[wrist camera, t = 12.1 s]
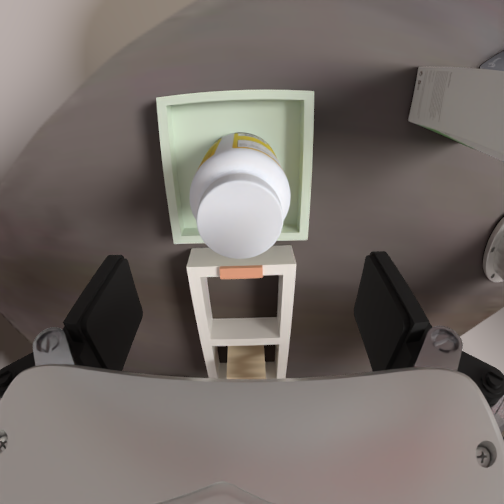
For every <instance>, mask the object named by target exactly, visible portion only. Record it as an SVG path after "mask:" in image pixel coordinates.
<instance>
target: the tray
mask: <svg viewBox="0 0 504 504" xmlns="http://www.w3.org/2000/svg"><path fill="white" fill-rule="evenodd" d="M156 101H157V114H158V126H159V136H160V146H161V155H162V164H163V172H164V180H165V188H166V195H167V202H168V209H169V216H170V222H171V228H172V235H173V241H174V244H189V243H205V242H204V241H203V240H202V238H201V236H200V234H199V232H198V229H197V223H196V219H195V218H194V215H193V213H192V210H191V207H190V199H189V197H190V187H191V183H192V180H193V177H194V175H195V173H196V171H197V169H198V168H199V166H200V164H201V162H202V160H203V158H204V156H205V155H206V153H207V151H208V150H209V148H210V147H211V146H212V145H213V144H214V143H215V142H216V141H217V140H218V139H220V138H221V137H223V136H225V135H228V134H231V133H237V132H244V133H250V134H253V135H256V136H258V137H260V138H262V139H263V140H264V141H266V142H267V143H268V144H269V145H270V147H271V148H272V149H273V151H274V153H275V155H276V157H277V159H278V161H279V163H280V165H281V167H282V169H283V171H284V173H285V175H286V177H287V180H288V183H289V187H290V194H291V198H290V206H289V210H288V213H287V215H286V217H285V219H284V221H283V227H282V231H281V234H280V236H279V238H278V239H277V241H286V240H307V239H308V226H309V212H310V196H311V179H312V158H313V129H314V91H300V90H233V91H215V92H202V93H191V94H182V95H173V96H166V97H158V98H156Z"/></svg>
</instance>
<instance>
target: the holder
mask: <svg viewBox="0 0 504 504" xmlns="http://www.w3.org/2000/svg"><path fill="white" fill-rule="evenodd" d="M186 268H187V274H188V279H189V285H190V290H191V296H192V301H193V306H194V312H195V317H196V322H197V326H198V331H199V336H200V341H201V345H202V350H203V355H204V359H205V363H206V368H207V372H208V376H209V378H215V379H227V363H220V362H219V356H218V350H217V346H249V345H275V344H276V348H275V361H274V362H265V370H266V379H281V378H286V369H287V361H288V351H289V342H290V332H291V322H292V311H293V300H294V288H295V275H296V261H295V257H294V253H293V250H292V246H291V245H283V246H271V247H270V248H269V249H268V250H267V251H265V252H263V253H262V254H260V255H257V256H255V257H251V258H246V259H235V258H228V257H225V256H222V255H220V254H218V253H216V252H214V251H213V250H212V249H210V248H192V249H191V253H190V256H189V260H188V263H187V267H186ZM263 275H279V285H278V308H277V317H263V318H225V319H213V318H212V311H211V305H210V298H209V290H208V283H207V277H220V279H246V278H263Z"/></svg>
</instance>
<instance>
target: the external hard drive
mask: <svg viewBox="0 0 504 504" xmlns="http://www.w3.org/2000/svg"><path fill="white" fill-rule="evenodd" d="M480 69H489V70H498V71H504V51H502V52H500V53H499V54H497V55H495V56H494V57H492V58H490V59H489V60H487V61H486V62H485V63H483V64H482V65H481V66H480Z"/></svg>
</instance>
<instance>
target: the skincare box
mask: <svg viewBox="0 0 504 504" xmlns="http://www.w3.org/2000/svg"><path fill="white" fill-rule="evenodd" d="M408 121H409V122H412V123H414V124H417V125H419V126H422V127H424V128H427V129H429V130H431V131H434V132H436V133H438V134H441V135H443V136H445V137H448V138H450V139H452V140H454V141H456V142H458V143H461V144H463V145H465V146H468V147H470V148H473V149H475V150H478V151H480V152H482V153H485V154H487V155H489V156H491V157H493V158H496V159H498V160H500V161H502V162H504V71H498V70H489V69H477V68H463V67H423V66H419V67H418V73H417V79H416V84H415V89H414V94H413V99H412V104H411V109H410V114H409V118H408Z"/></svg>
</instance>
